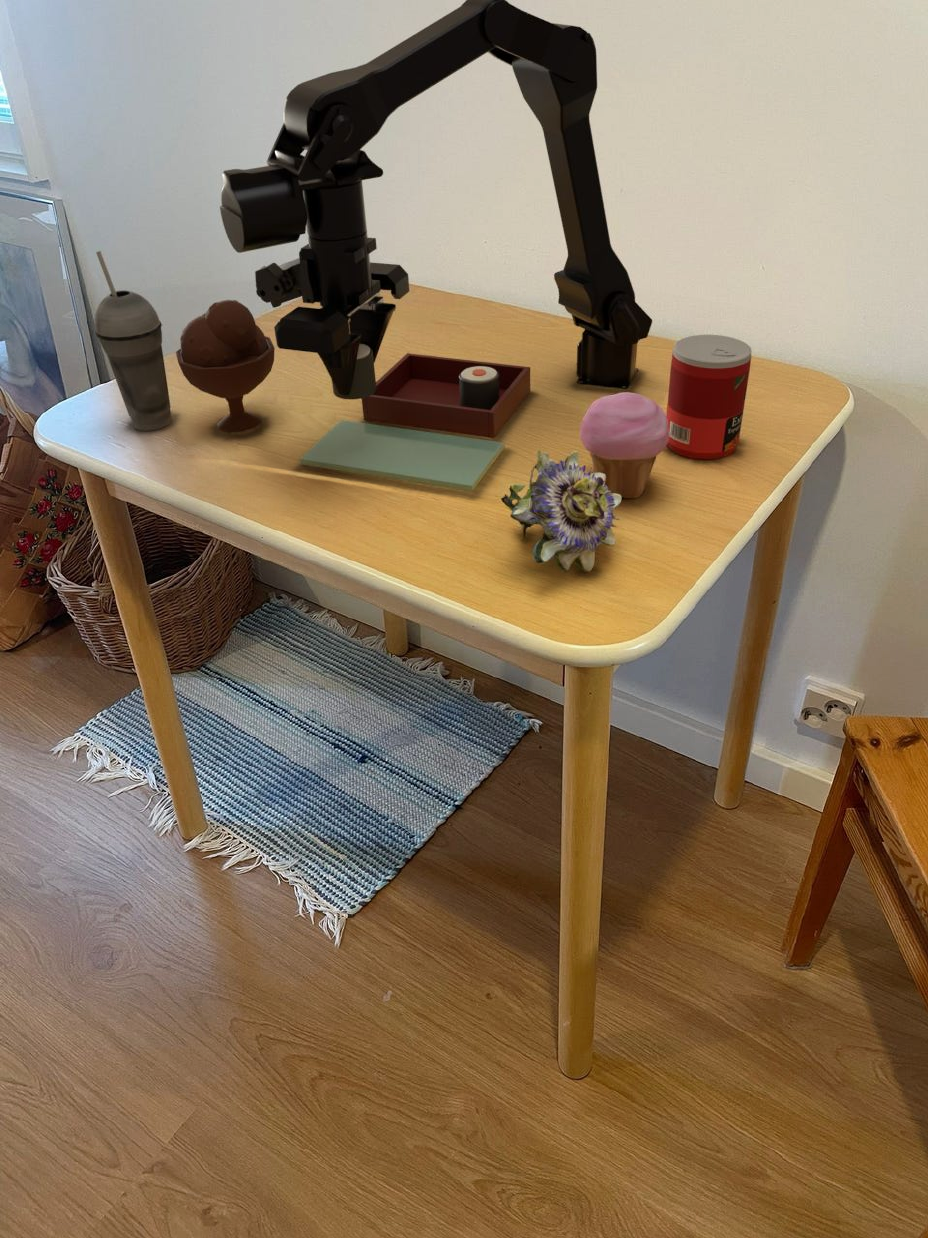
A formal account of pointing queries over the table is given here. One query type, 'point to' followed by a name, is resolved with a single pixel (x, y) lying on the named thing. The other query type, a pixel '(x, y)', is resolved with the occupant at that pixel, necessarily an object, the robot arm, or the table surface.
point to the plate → (404, 454)
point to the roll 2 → (479, 387)
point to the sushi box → (442, 396)
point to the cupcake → (624, 440)
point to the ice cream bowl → (226, 359)
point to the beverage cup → (134, 354)
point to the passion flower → (566, 511)
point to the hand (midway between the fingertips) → (354, 385)
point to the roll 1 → (361, 376)
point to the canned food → (707, 395)
